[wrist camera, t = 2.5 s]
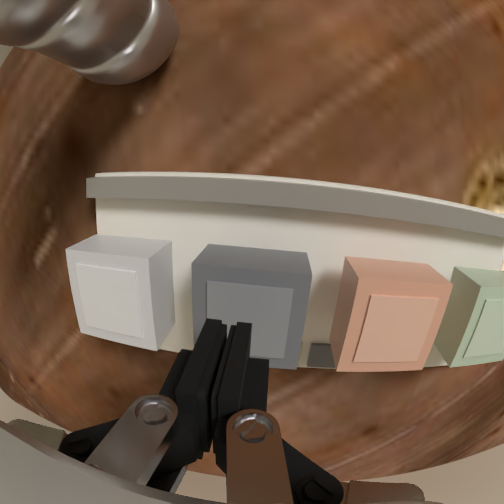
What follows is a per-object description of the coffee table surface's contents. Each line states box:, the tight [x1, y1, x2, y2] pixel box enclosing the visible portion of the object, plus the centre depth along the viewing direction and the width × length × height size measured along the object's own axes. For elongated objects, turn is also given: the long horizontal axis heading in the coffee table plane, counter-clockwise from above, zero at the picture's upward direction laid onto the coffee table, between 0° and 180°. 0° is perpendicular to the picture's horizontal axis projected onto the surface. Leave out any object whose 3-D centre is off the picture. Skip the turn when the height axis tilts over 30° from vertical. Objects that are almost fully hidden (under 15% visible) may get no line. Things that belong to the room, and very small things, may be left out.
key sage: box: [433, 266, 504, 367], centre depth 13 cm, size 5×5×3 cm
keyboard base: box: [86, 172, 504, 369], centre depth 17 cm, size 28×12×2 cm, turn 86°
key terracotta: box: [329, 256, 453, 372], centre depth 14 cm, size 5×5×3 cm
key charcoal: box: [191, 244, 312, 370], centre depth 14 cm, size 5×5×3 cm
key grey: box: [65, 234, 175, 351], centre depth 15 cm, size 5×5×3 cm
